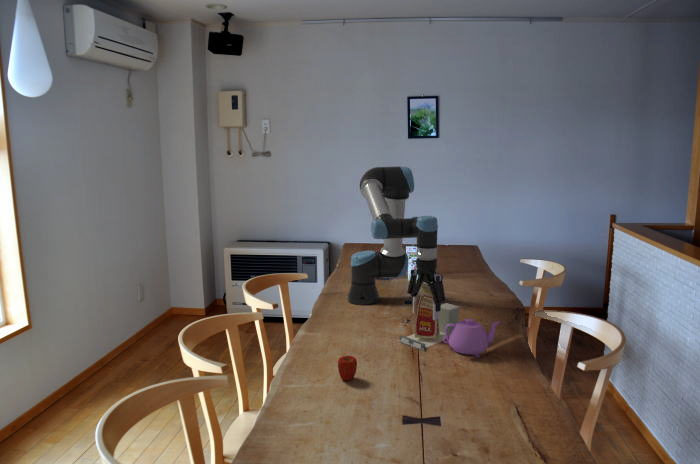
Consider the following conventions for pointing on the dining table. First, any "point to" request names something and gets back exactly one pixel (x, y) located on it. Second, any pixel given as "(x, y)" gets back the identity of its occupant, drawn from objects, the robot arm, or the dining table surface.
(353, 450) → the dining table surface
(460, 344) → the teapot
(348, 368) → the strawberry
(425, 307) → the milk carton
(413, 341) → the grey angled plate
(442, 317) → the grey rectangular block
